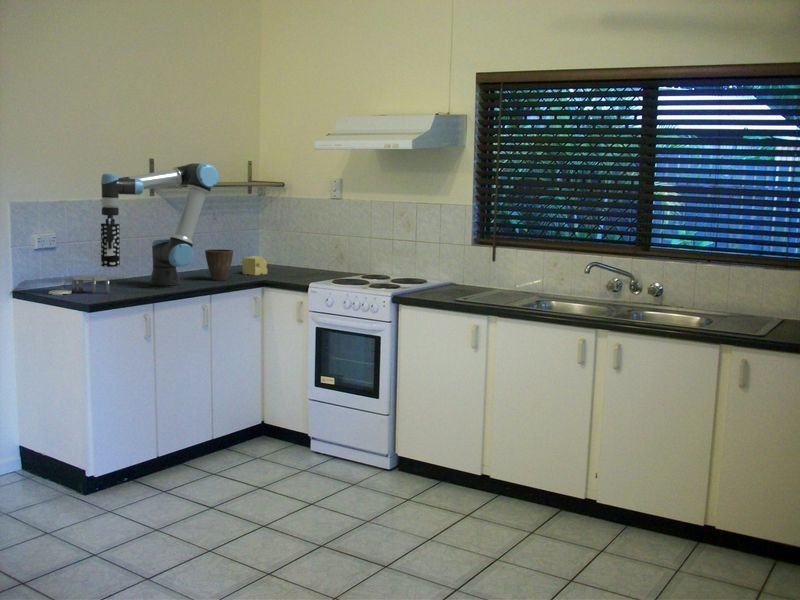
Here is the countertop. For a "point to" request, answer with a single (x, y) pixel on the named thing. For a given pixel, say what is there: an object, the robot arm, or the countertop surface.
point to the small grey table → (93, 279)
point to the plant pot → (219, 263)
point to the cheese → (254, 265)
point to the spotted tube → (115, 259)
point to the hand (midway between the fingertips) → (110, 254)
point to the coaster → (60, 292)
